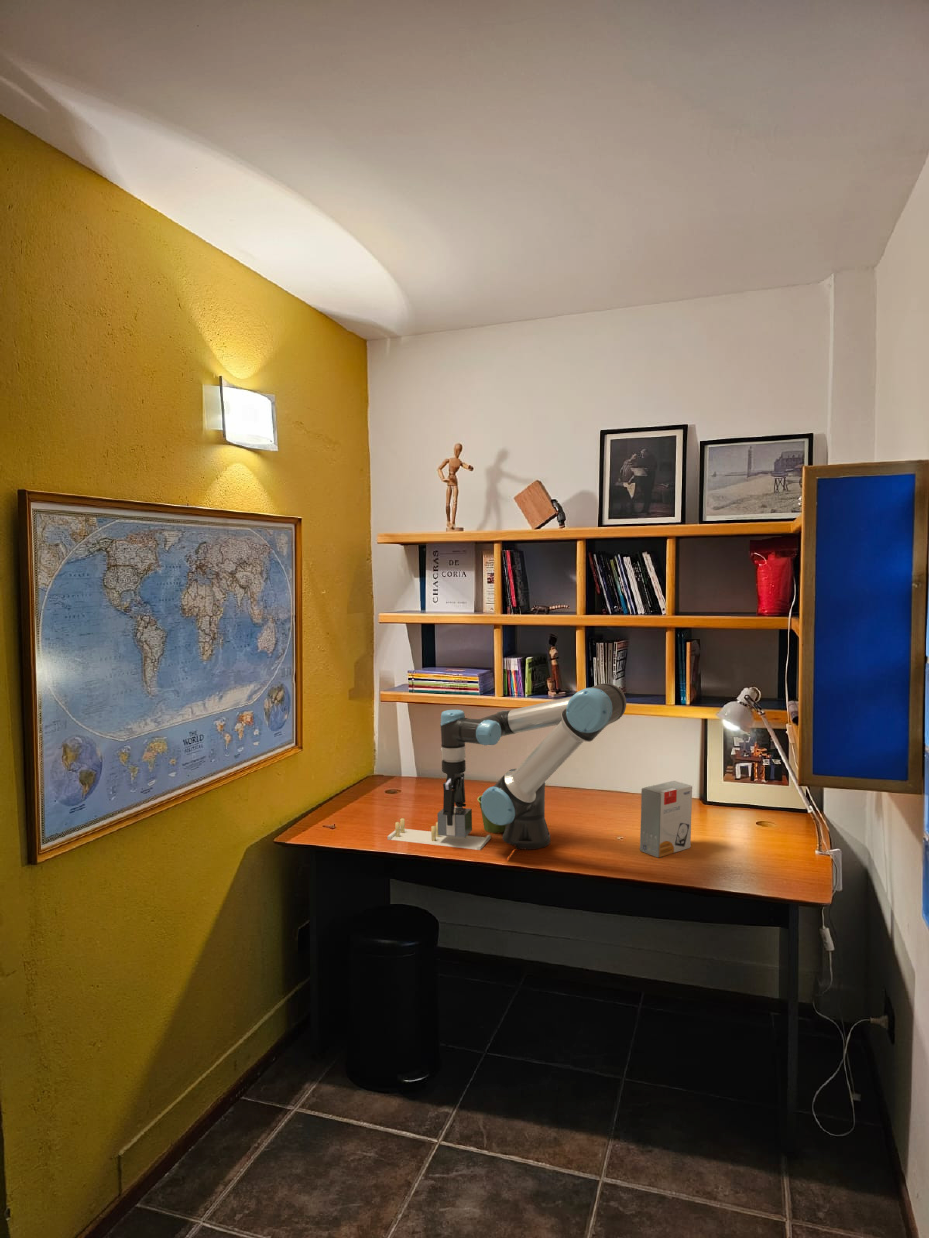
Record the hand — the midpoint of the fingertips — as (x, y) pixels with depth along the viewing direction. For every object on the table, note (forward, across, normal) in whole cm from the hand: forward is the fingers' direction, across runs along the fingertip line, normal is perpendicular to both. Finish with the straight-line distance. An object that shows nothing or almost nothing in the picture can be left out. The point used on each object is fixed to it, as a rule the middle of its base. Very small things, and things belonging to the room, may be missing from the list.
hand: (455, 830), depth 253 cm
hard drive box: (+6, -15, +64) cm, 66 cm away
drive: (+1, 0, 0) cm, 1 cm away
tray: (+4, 0, -6) cm, 7 cm away
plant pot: (+4, -14, +9) cm, 18 cm away
